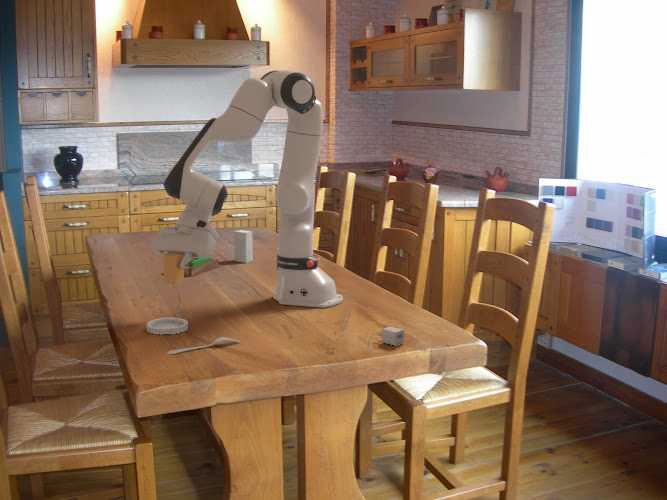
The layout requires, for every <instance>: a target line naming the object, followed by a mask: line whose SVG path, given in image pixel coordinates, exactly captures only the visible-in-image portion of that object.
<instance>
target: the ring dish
mask: <svg viewBox="0 0 667 500" xmlns="http://www.w3.org/2000/svg"><path fill="white" fill-rule="evenodd" d="M188 328H189V322H188V320H186V319H184V318H182V317H181V318H180V317H161V318H154V319H152V320H149V321H147V323H146V331H147V332H148V333H150V334H152V333H153V334H152V335H158V334H160V336H163V335H164V334H170V335H171V334H172V335H177V334H181V333H180V332H182V333H184V332H186V331H188ZM176 333H177V334H176ZM162 334H163V335H162ZM164 336H165V335H164Z"/></svg>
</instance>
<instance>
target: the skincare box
mask: <svg viewBox="0 0 667 500" xmlns="http://www.w3.org/2000/svg"><path fill="white" fill-rule="evenodd" d="M233 234H234V235H233V237H234V238H233V242H234V243H233V244H234V245H233V246H234V250H233V251H234V253H233V254H234V262H239V263H244V264H248V263H250V262H253V258H254V257H253V230H251V231H250V230H245V229H244V230H243V229H242V230H241V229H240V230H235V231H233Z"/></svg>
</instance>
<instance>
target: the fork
mask: <svg viewBox="0 0 667 500" xmlns="http://www.w3.org/2000/svg"><path fill="white" fill-rule="evenodd" d="M224 341H232V342H235V343H239V344H241V343H242V342H241V341H239V340H238V339H234V338H229V337H226V336H222V337H217V338H215V339H214V341H213V342H212V343H210V344H206V345H202V346H201V345H200V346H195V347H186V348H180V349H179V348H178V349H173V350H169V351H166V352H167V353H168V354H169V353H170V354H173V355H176V354H181V353H185V352H188V351H193V350H199V348H200V349H203V348H208V347H211V346H214V345H216V344H219V343H221V342H224ZM168 354H167V355H168Z"/></svg>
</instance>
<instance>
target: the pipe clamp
mask: <svg viewBox="0 0 667 500" xmlns="http://www.w3.org/2000/svg"><path fill="white" fill-rule="evenodd" d="M210 258H211V256H210V257H209V258H207V259H205V258H204V259H202V258H196V260H191V261H190V262H189V267H193V266H196V265H199V264H202V263H205V262H208V261H210Z"/></svg>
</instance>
